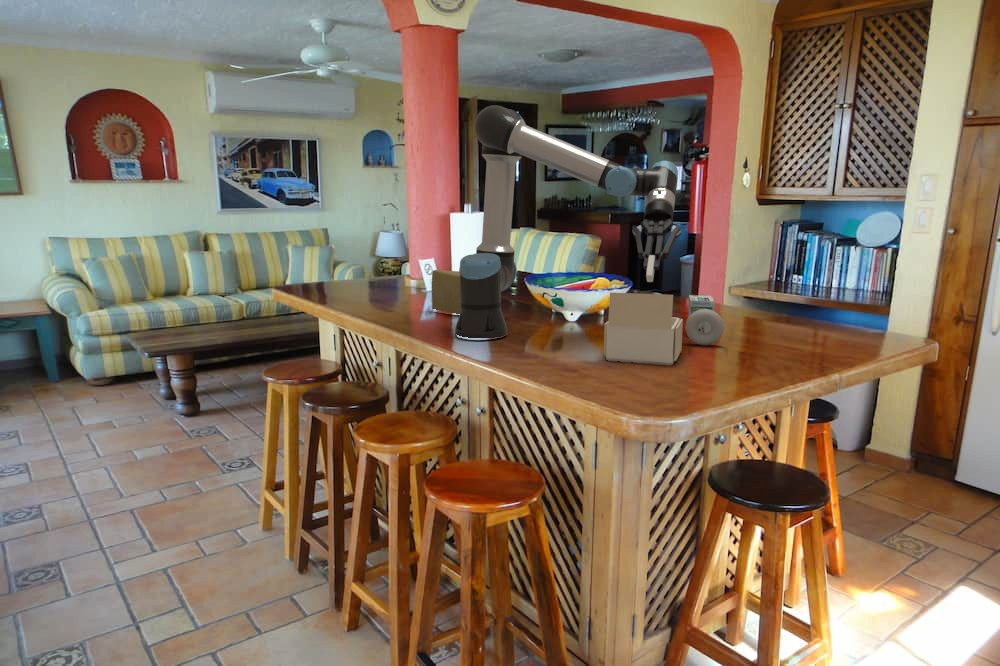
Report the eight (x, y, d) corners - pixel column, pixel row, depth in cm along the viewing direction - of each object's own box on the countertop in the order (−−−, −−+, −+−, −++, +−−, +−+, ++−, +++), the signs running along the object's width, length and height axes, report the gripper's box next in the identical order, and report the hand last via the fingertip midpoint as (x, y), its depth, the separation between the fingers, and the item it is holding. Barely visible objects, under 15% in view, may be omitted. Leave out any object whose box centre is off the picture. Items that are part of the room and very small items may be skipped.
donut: (684, 345, 185) (685, 309, 183) (684, 343, 188) (686, 306, 186) (723, 348, 182) (725, 310, 180) (723, 345, 185) (725, 308, 183)
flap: (608, 325, 168) (609, 292, 167) (608, 325, 168) (610, 292, 168) (671, 328, 163) (673, 294, 162) (671, 328, 163) (673, 295, 163)
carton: (602, 360, 171) (603, 324, 169) (614, 347, 184) (615, 314, 183) (675, 365, 165) (677, 329, 163) (682, 351, 178) (683, 317, 176)
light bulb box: (714, 339, 193) (716, 301, 191) (689, 338, 194) (691, 300, 192) (710, 331, 203) (712, 295, 201) (687, 330, 204) (688, 294, 202)
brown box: (424, 314, 237) (422, 270, 234) (442, 310, 245) (440, 267, 241) (475, 320, 224) (474, 274, 221) (492, 315, 232) (492, 271, 229)
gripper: (633, 199, 185) (622, 268, 173) (683, 199, 181) (675, 269, 169) (636, 218, 191) (625, 286, 179) (684, 218, 187) (676, 288, 175)
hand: (649, 278), depth 174 cm, fingers closed
